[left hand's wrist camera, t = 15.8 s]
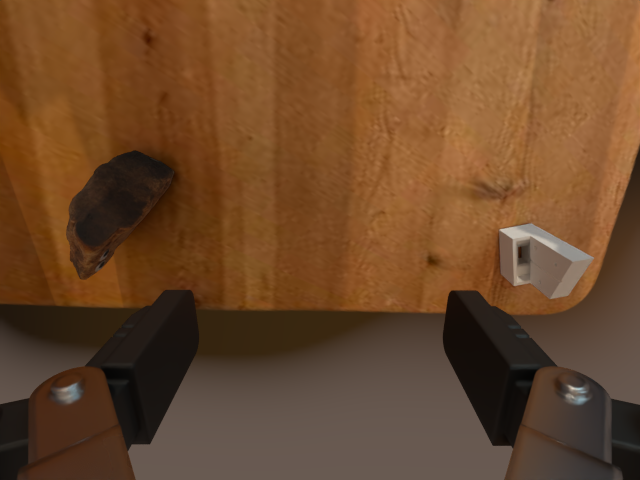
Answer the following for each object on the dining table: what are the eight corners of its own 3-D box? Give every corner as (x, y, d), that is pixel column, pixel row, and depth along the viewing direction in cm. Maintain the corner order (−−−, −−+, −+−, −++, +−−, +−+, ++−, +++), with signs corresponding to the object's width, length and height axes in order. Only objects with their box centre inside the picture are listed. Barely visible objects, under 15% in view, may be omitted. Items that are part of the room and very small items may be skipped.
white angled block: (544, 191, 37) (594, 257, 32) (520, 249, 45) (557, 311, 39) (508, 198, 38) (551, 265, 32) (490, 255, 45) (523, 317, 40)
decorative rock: (132, 252, 42) (73, 297, 32) (85, 220, 41) (8, 257, 31) (187, 174, 39) (142, 198, 29) (139, 137, 38) (73, 148, 28)
